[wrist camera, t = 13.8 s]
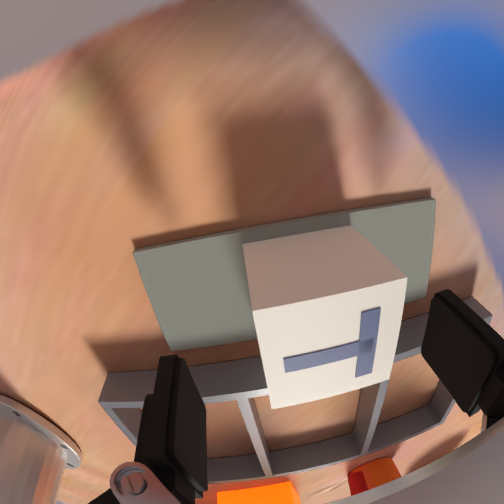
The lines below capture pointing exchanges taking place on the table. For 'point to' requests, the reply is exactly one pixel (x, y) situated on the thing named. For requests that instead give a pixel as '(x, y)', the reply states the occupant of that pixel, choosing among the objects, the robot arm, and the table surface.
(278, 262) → the letter cube
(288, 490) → the orange juice
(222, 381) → the sorting box
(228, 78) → the table surface
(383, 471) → the coffee cup
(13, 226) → the table surface
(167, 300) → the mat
